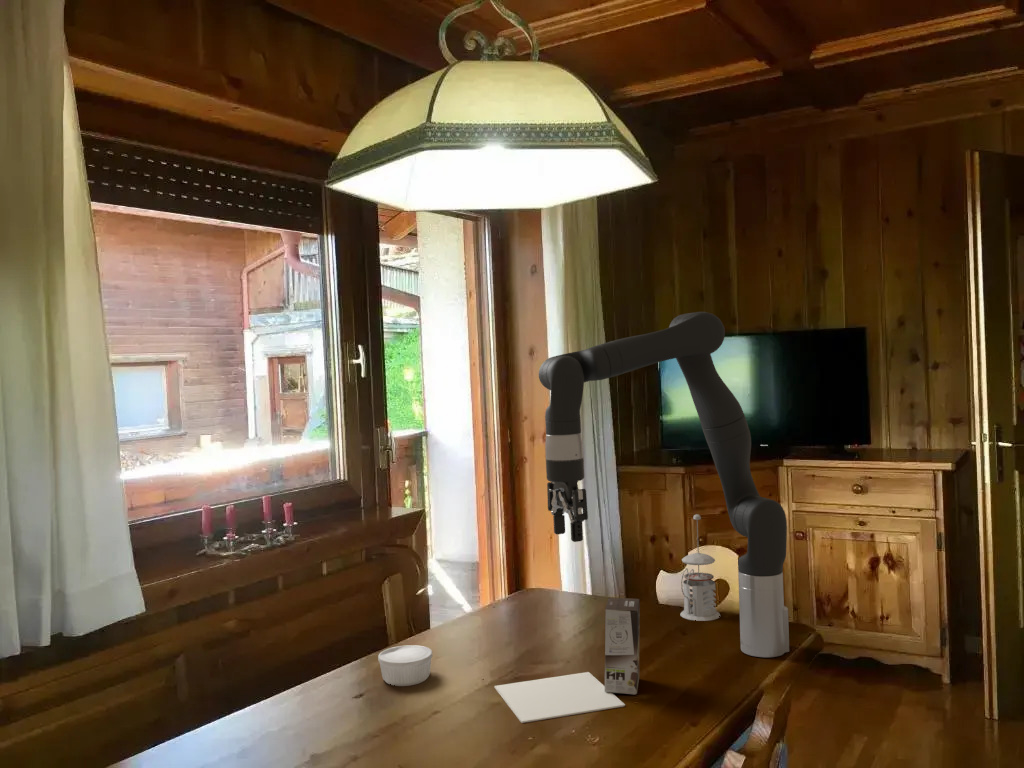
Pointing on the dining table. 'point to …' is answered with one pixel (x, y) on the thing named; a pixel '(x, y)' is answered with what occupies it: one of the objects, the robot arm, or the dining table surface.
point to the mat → (557, 697)
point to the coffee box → (622, 645)
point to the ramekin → (405, 664)
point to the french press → (699, 588)
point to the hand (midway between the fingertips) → (568, 537)
